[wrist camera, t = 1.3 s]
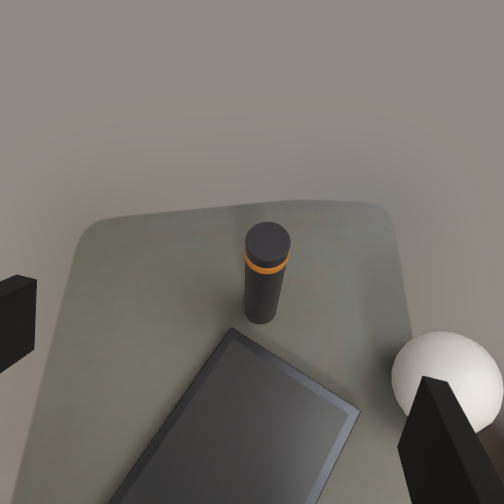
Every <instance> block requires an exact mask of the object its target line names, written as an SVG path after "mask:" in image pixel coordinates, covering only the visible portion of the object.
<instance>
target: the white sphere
mask: <svg viewBox="0 0 504 504" xmlns="http://www.w3.org/2000/svg"><path fill="white" fill-rule="evenodd" d="M422 375H423V376H427V377H431V378H435V379H439V380H443V381H447V382H448V383H449V385H450V387H451V389H452V391H453V392H454V394H455V396H456V398H457V400H458V402H459V403H460V405H461V407H462V409H463V411H464V413H465V415H466V416H467V418H468V420H469V422H470V424H471V426H472V427H473V429H474V431H475V433H476V435H478V434H480V433H482V432H483V431H484V430H486V429H487V428H488V427H489V425H490V424H491V423H492V422H493V420H494V419H495V417H496V416H497V414H498V413H499V411H500V407H501V403H502V398H503V391H504V389H503V382H502V376H501V373H500V371H499V369H498V367H497V364H496V362H495V361H494V360H493V358H492V357H491V356H490V355H489V353H488V352H487V351H486V350H485V349H484V348H482V347H481V346H480V345H479V344H477V343H476V342H475V341H473V340H471V339H468V338H466V337H464V336H462V335H459V334H457V333H452V332H446V331H435V332H428V333H424V334H421V335H419V336H417V337H415V338H413V339H411V340H410V341H408V342H407V343H406V344H405V345H404V347H403V348H402V349H401V350H400V351H399V353H398V355H397V356H396V358H395V361H394V365H393V368H392V387H393V390H394V394H395V397H396V400H397V402H398V403H399V405H400V406H401V408H402V409H403V411H404V412H405V414H406V415H407V416H408V415H409V412H410V409H411V406H412V404H413V401H414V398H415V395H416V392H417V389H418V386H419V384H420V381H421V378H422Z"/></svg>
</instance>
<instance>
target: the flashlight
mask: <svg viewBox="0 0 504 504" xmlns="http://www.w3.org/2000/svg"><path fill="white" fill-rule="evenodd" d="M289 249H290V236H289V234H288V232H287V231H286V230H285V229H284V228H283V227H282V226H280V225H278V224H276V223H273V222H262V223H259V224H256V225H255V226H253V227H252V228H251V229H250V230H249V231H248V233H247V235H246V245H245V314H246V316H247V318H248V319H249V320H250V321H252V322H254V323H256V324H265V323H268V322H270V321H271V320H272V319H273V318H274V316H275V314H276V310H277V305H278V300H279V296H280V291H281V286H282V281H283V277H284V272H285V267H286V263H287V261H288V257H289Z"/></svg>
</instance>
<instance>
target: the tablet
mask: <svg viewBox="0 0 504 504" xmlns="http://www.w3.org/2000/svg"><path fill="white" fill-rule="evenodd" d="M360 412H361V411H360V410H359V409H358V408H356V407H355V406H353V405H352V404H350V403H348V402H347V401H345V400H344V399H342V398H341V397H339V396H338V395H336V394H334V393H333V392H331V391H330V390H328V389H327V388H325V387H324V386H322V385H320V384H319V383H317V382H316V381H314V380H313V379H311V378H310V377H308V376H307V375H305V374H303V373H302V372H300V371H299V370H297V369H296V368H294V367H293V366H291V365H289V364H288V363H286V362H285V361H283V360H282V359H280V358H279V357H277V356H276V355H274V354H272V353H271V352H269V351H268V350H266V349H265V348H263V347H262V346H260V345H258V344H257V343H255V342H254V341H252V340H251V339H249V338H248V337H246V336H244V335H243V334H241V333H240V332H238V331H237V330H235V329H234V328H231V329H230V330H229V332H228V333H227V334H226V336H225V337H224V339H223V340H222V342H221V343H220V344H219V346H218V347H217V349H216V350H215V352H214V353H213V354H212V356H211V357H210V359H209V360H208V362H207V363H206V364H205V366H204V367H203V369H202V370H201V372H200V373H199V374H198V376H197V377H196V379H195V380H194V382H193V383H192V384H191V386H190V387H189V389H188V390H187V392H186V393H185V394H184V396H183V397H182V399H181V400H180V402H179V403H178V404H177V406H176V407H175V409H174V410H173V412H172V413H171V414H170V416H169V417H168V419H167V420H166V422H165V423H164V424H163V426H162V427H161V429H160V430H159V432H158V433H157V434H156V436H155V437H154V439H153V440H152V442H151V443H150V444H149V446H148V447H147V449H146V450H145V452H144V453H143V454H142V456H141V457H140V459H139V460H138V462H137V463H136V464H135V466H134V467H133V469H132V470H131V472H130V473H129V474H128V476H127V477H126V479H125V480H124V482H123V483H122V484H121V486H120V487H119V489H118V490H117V492H116V493H115V494H114V496H113V497H112V499H111V500H110V502H109V503H108V504H316V503H317V501H318V499H319V497H320V495H321V493H322V491H323V488H324V486H325V484H326V482H327V480H328V478H329V476H330V474H331V472H332V470H333V468H334V466H335V464H336V462H337V460H338V457H339V455H340V453H341V451H342V449H343V447H344V445H345V443H346V441H347V439H348V437H349V435H350V433H351V431H352V429H353V426H354V424H355V422H356V420H357V418H358V416H359V414H360Z"/></svg>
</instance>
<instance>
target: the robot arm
mask: <svg viewBox="0 0 504 504" xmlns="http://www.w3.org/2000/svg"><path fill="white" fill-rule="evenodd" d="M36 290H37V280H36V279H33V278H29V277H24V276H20V275H15V276H12V277H10V278H7V279H5V280H3V281H0V373H2V372H3V371H4V370H6V369H7V368H9V367H10V366H12V365H13V364H14V363H16V362H17V361H19V360H20V359H21V358H23V357H24V356H26V355H27V354H28V353H30V352H31V351H33V350H34V342H35V317H36ZM397 448H398V452H399V456H400V460H401V464H402V467H403V471H404V475H405V479H406V483H407V487H408V491H409V495H410V498H411V502H412V504H504V485H503V483H502V481H501V479H500V477H499V475H498V474H497V472H496V470H495V468H494V466H493V464H492V462H491V461H490V459H489V457H488V455H487V453H486V451H485V449H484V448H483V446H482V444H481V442H480V440H479V438H478V437H477V435H476V433H475V431H474V429H473V427H472V426H471V424H470V422H469V420H468V418H467V416H466V415H465V413H464V411H463V409H462V407H461V405H460V403H459V402H458V400H457V398H456V396H455V394H454V392H453V391H452V389H451V387H450V385H449V383H448V382H447V381H443V380H439V379H435V378H431V377H427V376H423V375H422V378H421V381H420V384H419V386H418V389H417V392H416V395H415V398H414V401H413V404H412V406H411V409H410V412H409V415H408V418H407V421H406V424H405V426H404V429H403V432H402V435H401V438H400V441H399V443H398V446H397Z"/></svg>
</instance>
